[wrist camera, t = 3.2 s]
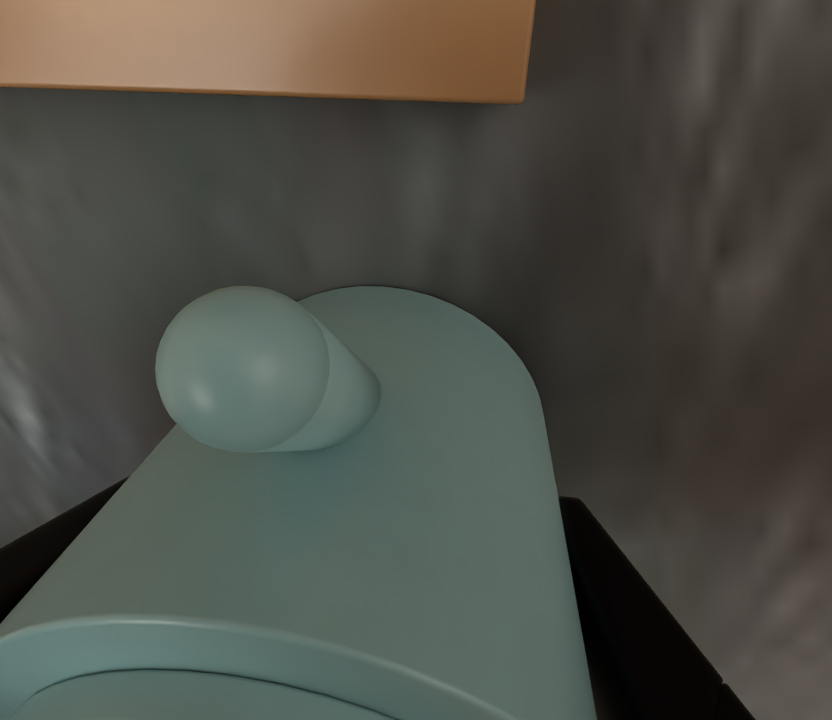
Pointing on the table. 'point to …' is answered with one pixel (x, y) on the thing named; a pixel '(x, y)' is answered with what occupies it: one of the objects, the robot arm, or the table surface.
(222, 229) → the table surface
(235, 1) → the stand
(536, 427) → the kettle
